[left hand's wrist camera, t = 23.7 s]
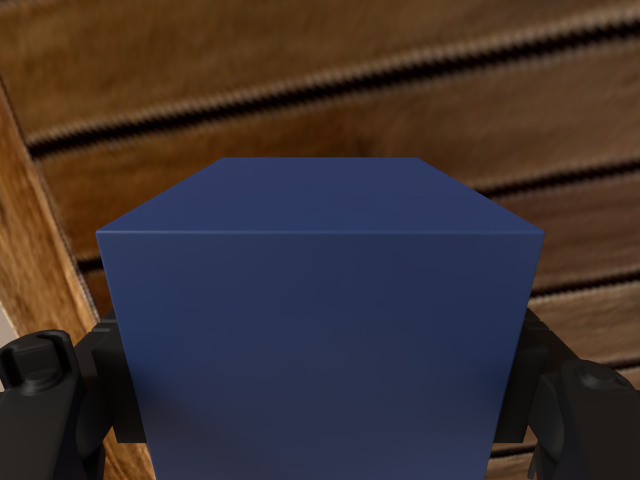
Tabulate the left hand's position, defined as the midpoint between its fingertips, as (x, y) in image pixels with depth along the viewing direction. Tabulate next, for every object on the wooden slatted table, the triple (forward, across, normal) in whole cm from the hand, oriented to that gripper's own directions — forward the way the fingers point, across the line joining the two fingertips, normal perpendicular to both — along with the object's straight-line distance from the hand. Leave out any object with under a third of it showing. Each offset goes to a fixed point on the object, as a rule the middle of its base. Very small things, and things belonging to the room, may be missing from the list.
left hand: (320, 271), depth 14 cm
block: (+2, 0, 0) cm, 2 cm away
